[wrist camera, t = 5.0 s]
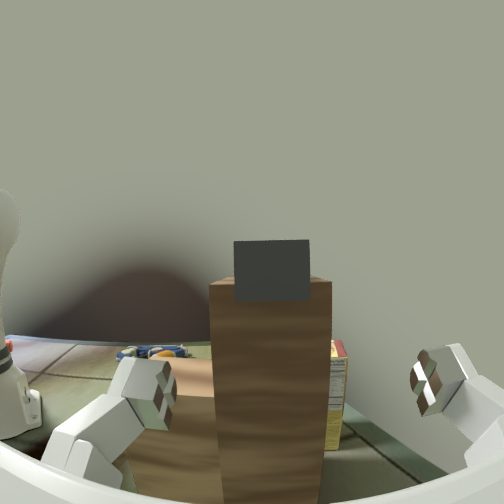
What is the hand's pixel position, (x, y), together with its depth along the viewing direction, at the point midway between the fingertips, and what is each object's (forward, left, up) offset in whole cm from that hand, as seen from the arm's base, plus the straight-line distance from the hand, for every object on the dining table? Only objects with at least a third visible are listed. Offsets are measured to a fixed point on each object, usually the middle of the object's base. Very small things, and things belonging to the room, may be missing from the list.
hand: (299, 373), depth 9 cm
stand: (-20, +6, -24) cm, 32 cm away
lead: (-13, +7, +2) cm, 15 cm away
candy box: (-24, +23, -24) cm, 41 cm away
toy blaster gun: (-78, +6, -25) cm, 82 cm away
